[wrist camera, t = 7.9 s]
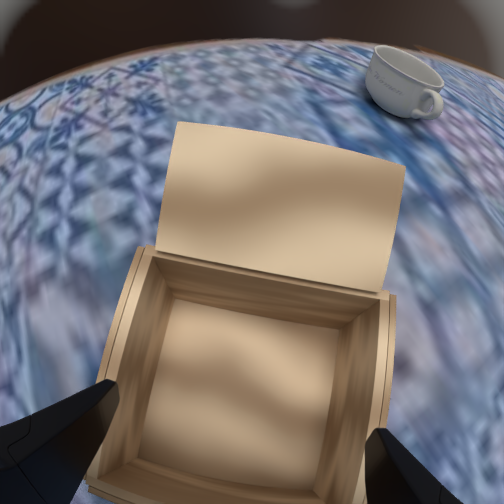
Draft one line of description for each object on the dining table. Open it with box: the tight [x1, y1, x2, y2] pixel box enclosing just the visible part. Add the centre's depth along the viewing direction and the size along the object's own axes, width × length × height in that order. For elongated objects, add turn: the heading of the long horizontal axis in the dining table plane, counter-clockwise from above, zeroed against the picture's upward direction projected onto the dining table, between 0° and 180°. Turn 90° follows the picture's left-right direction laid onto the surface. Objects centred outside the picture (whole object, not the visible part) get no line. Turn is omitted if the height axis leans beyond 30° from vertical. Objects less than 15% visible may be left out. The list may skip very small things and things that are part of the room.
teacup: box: [365, 45, 444, 120], centre depth 34 cm, size 14×11×8 cm
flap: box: [155, 122, 406, 293], centre depth 16 cm, size 7×12×1 cm
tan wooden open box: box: [83, 245, 396, 504], centre depth 17 cm, size 14×15×8 cm
